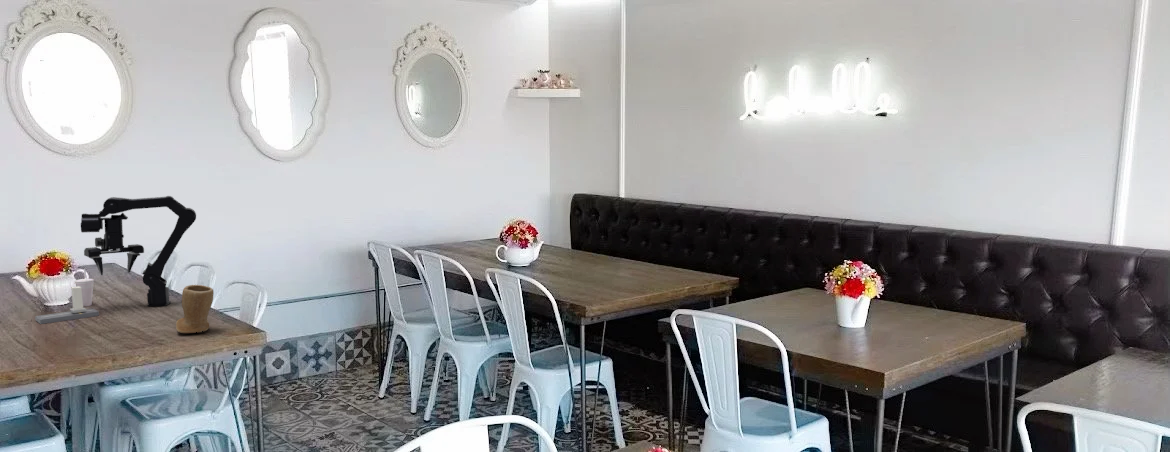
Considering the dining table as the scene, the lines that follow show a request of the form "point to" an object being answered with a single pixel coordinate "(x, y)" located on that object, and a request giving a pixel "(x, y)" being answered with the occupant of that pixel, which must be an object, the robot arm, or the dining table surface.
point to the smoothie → (86, 289)
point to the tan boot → (195, 309)
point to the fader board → (65, 316)
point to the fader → (77, 300)
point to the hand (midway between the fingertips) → (115, 273)
